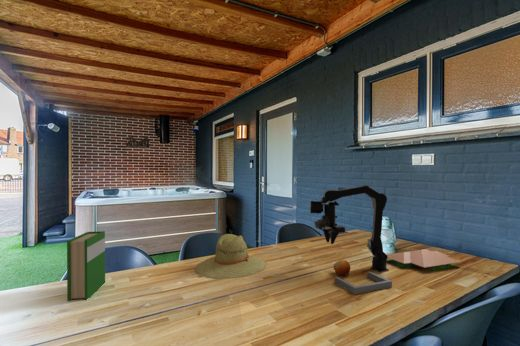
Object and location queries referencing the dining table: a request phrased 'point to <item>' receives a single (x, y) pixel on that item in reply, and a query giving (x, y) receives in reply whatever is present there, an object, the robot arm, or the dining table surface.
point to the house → (423, 259)
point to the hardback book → (85, 264)
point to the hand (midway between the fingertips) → (329, 243)
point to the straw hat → (230, 260)
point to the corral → (378, 285)
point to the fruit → (342, 267)
